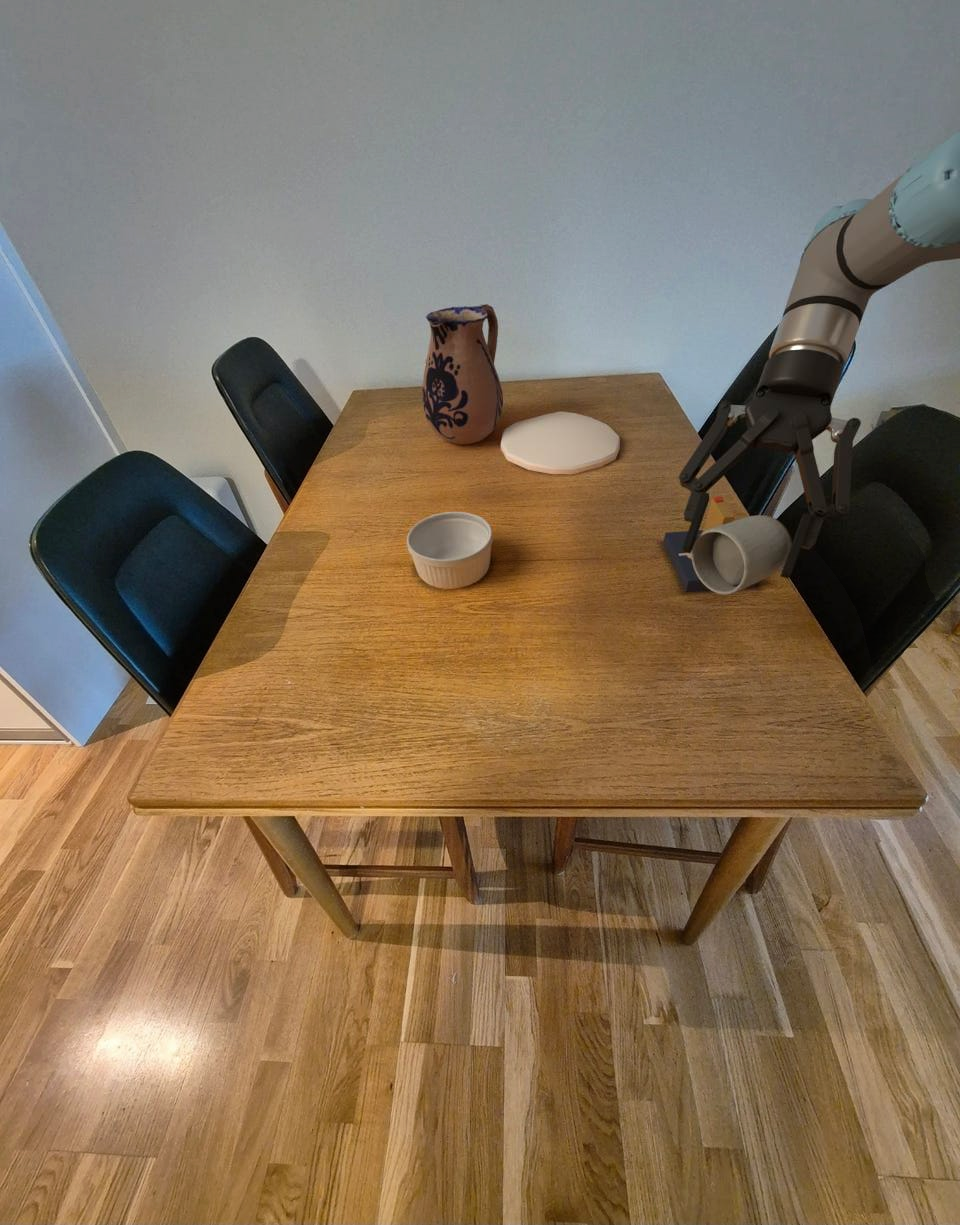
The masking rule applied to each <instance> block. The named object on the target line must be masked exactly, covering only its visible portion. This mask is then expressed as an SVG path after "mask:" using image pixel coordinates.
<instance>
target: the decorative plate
mask: <svg viewBox="0 0 960 1225" xmlns="http://www.w3.org/2000/svg"><path fill="white" fill-rule="evenodd" d="M620 443H621V437H620V436H619V435H618V433H617V432H615V431H614V430H613V428H611V427H610V425H608V424H606V423H605V422H602V421H600V420H598V419H596V418H593V417H590V416H587V415H583V414H580V413H577V412H576V413H575V412H568V411H562V410H560V411H556V412H551V413H546V414H543V415H538V416H535V417H531V418H528V419H524V420H521V421H516V422H515V423H512V424H511V425H510V426H507V427H506V428H505V429H504V430H503V431H502V436H501V441H500V451H501V452H502V453H503V455H504V457H505V459H506V461H507V462H510V463H513V464H515V465H517V466H519V467H522V468H524V469H526V470H528V471H534V472H540V473H544V474H551V475H575V474H579V473H583V472H586V471H590V470H594V469H598V468H601V467H603V466H605V465H608V464H610V463H611V462H614V461H615V460H616V459H617V456H618V454H619V452H620V447H621V446H620V445H621V444H620Z"/></svg>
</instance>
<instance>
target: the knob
mask: <svg viewBox="0 0 960 1225" xmlns="http://www.w3.org/2000/svg"><path fill="white" fill-rule="evenodd" d="M734 519H735V515H734V514H733V513H732V511H731V509H730V508H729V506H728V505H727V504H726V502H725V500H724V499H723V497H722V496H715V497H711V500H710V504H709V507H708V511H707V515H706V519H705V522H704V527H703V529H702V530H703V532H704V531H706V530H708V529H710V528H713V527H717V526H720V525H724V524H727V523H730V522H734Z"/></svg>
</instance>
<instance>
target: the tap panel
mask: <svg viewBox="0 0 960 1225" xmlns="http://www.w3.org/2000/svg"><path fill="white" fill-rule="evenodd" d="M703 530H704V529H699V531H698V534H697V536H696V538H697V537H698V536H699V535H700V534H701V533H702V532H703ZM688 531H689V530H686V531H685V530H684V531H683V530H682V531H669V532H665V533H664V538H663V542H662V544H663V546H664V549H665V551H666V553H667V556H668V558H669V559H670V561H671V564H672V566H673V568H674V570H675V573H676V575H677V577H678V579H679V581H680V583H681V586H682V588H683V591H684V592H685V593H696V592H697V593H698V592H712V591H711V590H710V589H708V588H707V587H706V586H705V585H704V584H703V583H702V582H701V580H700V579H699V578H698V576H697V574H696V572H695V570H694V567H693V564H692V559H690V558H688V557H687V553H686V552H684V551H683V545H684V542H685V539H686V536H687V533H688ZM757 584H758V582H757V583H755V584H752V585H750V586H748V587H746V588H745V589H755V588H756V586H757Z"/></svg>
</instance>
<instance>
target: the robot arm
mask: <svg viewBox="0 0 960 1225" xmlns="http://www.w3.org/2000/svg"><path fill="white" fill-rule="evenodd" d="M953 260H960V131H958V132H956V133H955V134H953V135H952V136H950V137H949V138H948V139H946V140H945V141H944V142H942V143H941V144H940V145H939V146H937V147H935V148H934V149H931V150H930V151H929V152H928V153H927V154H925V155H922V156H921V157H919V158H918V159H917V161H915V162H914V163H913V164H911V165H910V166H909V168H908V169H907V170H905V172H903V173H902V174H901V175H900V176H898V177H897V178H896V179H895V180H893V181H892V182H891V183H890V184H889V185H888V186H886V188H884V189H883V190H882V191H880V193H878V194H877V195H876V196H875V197H873V199H872V198H871V199H870V198H857V199H856V198H855V199H850V200H848V201H847V202H846V203H844V204H843V205H835V206H834V207H831V208H830V209H829V210H828V211H827V212H825V213H824V214H823V215H821V217H820V218H819V220H818V221H817V222H816V224H815V225H814V228H813V230H812V233H811V234H810V237H809V239H808V241H807V243H806V245H805V246H804V248H803V252H802V253H801V257H800V261H799V265H798V269H797V271H796V274H795V278H794V280H793V283H792V286H791V290H790V292H789V295H788V299H787V301H786V304H785V307H784V311H783V313H782V316H781V319H780V321H779V324H778V327H777V329H776V332H775V335H774V338H773V341H772V344H771V347H770V350H769V353H768V359H767V360H766V362H765V364H764V366H763V370H762V373H761V376H760V378H759V381H758V384H757V387H756V390H755V393H754V396H753V397H752V399H751V400H750V401H749V402H748V403H747V404H746V405H742V404H732V403H731V401H729V400H727V399H724V400H722V401H721V402H720V403H719V404H718V409H717V413H716V417H715V420H714V422H713V423H712V424H711V426H710V427H709V429H708V431H707V432H706V433H705V435H704V437H703V438H702V440H701V441H700V443H699V445H698V446H697V447H696V448H695V450H694V452H693V453H692V454H691V457H690V458H689V459H688V461H687V463H686V464H685V466H684V467H683V469H682V470H681V471H680V473H679V474H678V480H679V484H680V486H681V487H682V488H685V489H686V490H687V491H690V495H689V497H688V499H687V500H688V501H687V503H686V506H685V509H684V512H683V518H684V522H689V523H690V525H689V528H688V530H687V531H688V533H687V536H686V539H685V542H684V545H683V551H684V552H686V553H690V554H691V551H692V547H693V544H694V541H695V539H696V536H697V534H698V531H699V530H700V527H701V525H702V522H703V519H704V516H705V513H706V510H707V509H708V508H707V507H708V505H709V501H710V493H709V492H708V491H710V489H712V487H714V485H715V484H716V483H717V482H719V481H720V480H721V479H722V478H723V477H724V476H725V475H727V473H728V472H729V471H730V470H731V469H733V468H734V467H735V466H736V465H737V464H738V463H739V462H740V461H741V460H742V459H743V458H744V457H745V456H746V455H748V454H750V453H752V452H753V450H754V449H756V448H757V447H758V449H760V450H767V451H768V450H776V451H778V452H780V453H784V454H790V453H791V452H793V455H794V459H795V463H796V464H797V467H798V472H799V475H800V479H801V485H802V488H803V492H804V496H805V500H806V504H807V508H808V513H807V512H804V513H803V515H802V517H801V518H800V520H799V523H798V526H797V529H796V532H795V533H794V534H795V535H794V537H793V540H792V546H791V548H790V551H789V554H788V557H787V559H786V562H785V565H784V567H783V568H782V570H781V574H780V577H781V578H785V579H789V578H790V577H791V576H792V574H793V571H794V568H795V565H796V563H797V559H798V557H799V554H800V551H801V549H804V550H811V549H812V548H813V547H814V546H815V544H816V542H817V541H818V538H819V535H820V532H821V530H822V527H823V524H824V522H825V521H826V520H833V519H835V520H841V519H843V518H844V517H845V516H846V515H847V514H848V513H849V511H850V510H851V498H852V496H851V495H852V472H853V452H854V449H853V448H854V440H855V438H856V435H857V433H858V431H859V430H860V428H861V425H862V421H861V420H860V418H857V417H852V418H849V419H848V420H845V419H840V418H836V417H833V414H832V408H831V407H832V404H833V402H834V398H835V395H836V393H837V390H838V388H839V385H840V381H841V378H842V376H843V374H844V368H843V367H845V366H846V363H847V362H848V359H849V357H850V353H851V351H852V348H853V345H854V343H855V340H856V337H857V335H858V332H859V330H860V329H859V328H860V325H861V322H862V319H863V316H864V314H865V312H866V310H867V307H868V304H869V301H870V299H871V297H872V296H873V295H874V294H875V293H877V292H878V291H880V290H882V289H884V288H886V287H887V286H889V285H891V284H893V283H894V282H896V281H898V280H899V279H901V278H903V277H905V276H906V275H908V274H910V273H911V272H913V271H915V270H916V269H918V268H920V267H922V266H924V265H926V264H930V263H935V262H943V261H953ZM742 418H743V420H744V422H745V425H746V427H747V430H746V431H745V432H744V433H743V434H742V435H741V436H740V437H739V439H738V440H737V441H736V442H735V443H734V444H732V446H731V447H730V448H729V449H728V450H727V451H726V452H724V453H723V455H721V457H719V458H718V459H717V460H716V461H715V462H714V463H713V464H712V465H711V466H710V467H709V468H708V469H707V470H706V471H705V472H703V473H702V474H701V475H700V476H699V478H697V476H698V474H699V473H700V471H701V470H702V468H703V467H704V466H705V464H706V462H707V461H708V459H709V458H710V456H711V455H712V453H713V452H714V451H715V449H716V447H717V446H718V444H719V443H720V441H722V438H723V437H724V435H725V433H726V432H727V429H728V427H732V426H734V425H735V424H736V423H737V422H738V420H739V419H742ZM825 431H828V432H829V433H830V440H831V442H833V443H835V447H834V451H833V469H832V490H831V491H832V492H831V503H830V504H828V503H827V500H826V496H825V492H824V488H823V484H822V479H821V476H820V472H819V467H818V464H817V460H816V456H815V451H814V450H815V449H814V448H815V447H814V443H813V440H814V439H816V438H817V437H818V436H820V435H821V434H822V433H824V432H825Z"/></svg>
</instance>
